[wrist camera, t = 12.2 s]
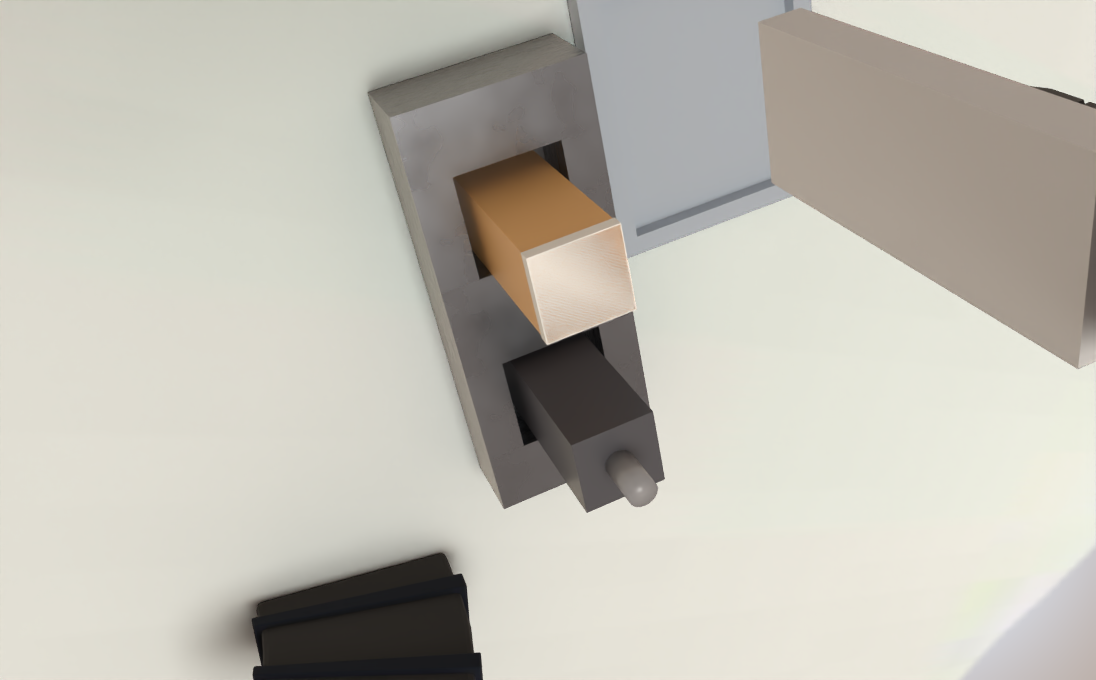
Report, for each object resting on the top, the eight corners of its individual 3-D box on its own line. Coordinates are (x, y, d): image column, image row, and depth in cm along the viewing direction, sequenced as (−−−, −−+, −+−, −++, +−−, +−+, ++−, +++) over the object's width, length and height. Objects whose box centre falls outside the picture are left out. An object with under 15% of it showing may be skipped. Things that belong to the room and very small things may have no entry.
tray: (564, -17, 47) (574, -12, 47) (791, -88, 50) (806, -84, 49) (613, 251, 55) (622, 260, 54) (808, 177, 58) (821, 185, 57)
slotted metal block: (367, 92, 46) (389, 117, 43) (552, 33, 48) (587, 53, 45) (480, 467, 58) (504, 508, 55) (624, 407, 60) (656, 444, 57)
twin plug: (496, 341, 54) (593, 476, 44) (566, 314, 55) (678, 440, 44) (512, 403, 56) (608, 544, 46) (580, 375, 57) (689, 509, 47)
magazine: (510, 598, 61) (477, 827, 48) (289, 590, 62) (199, 814, 49) (507, 548, 60) (472, 773, 47) (280, 542, 61) (183, 760, 48)
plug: (450, 175, 49) (525, 258, 40) (531, 146, 49) (621, 223, 41) (471, 251, 51) (547, 345, 43) (548, 222, 52) (636, 309, 44)
